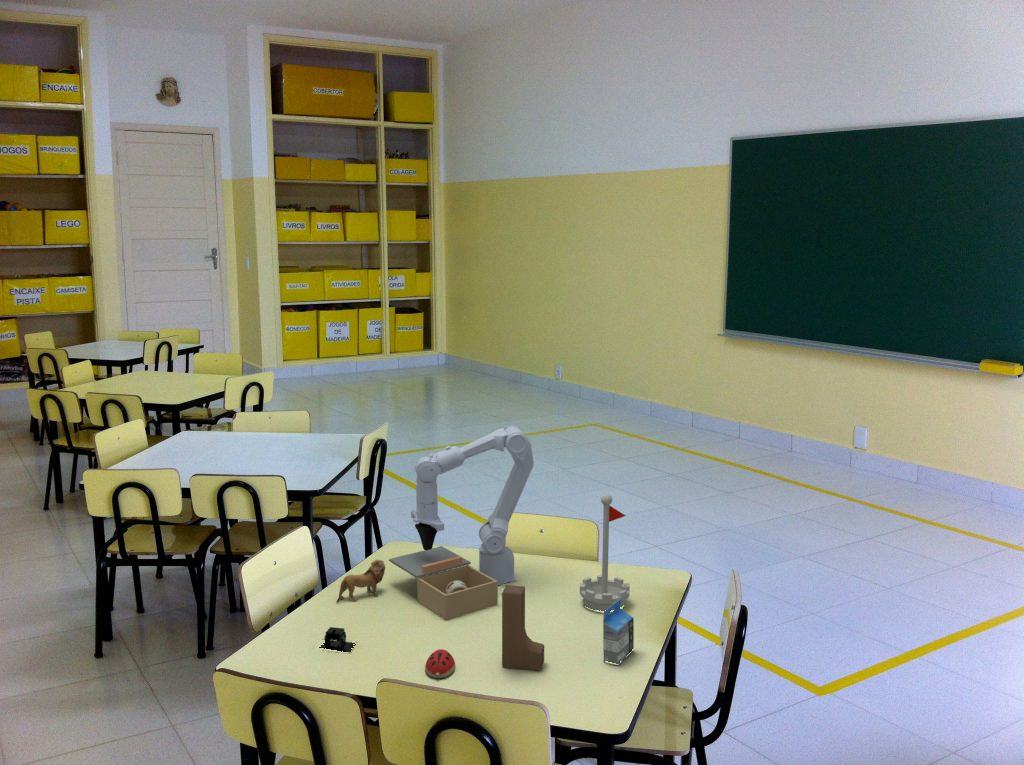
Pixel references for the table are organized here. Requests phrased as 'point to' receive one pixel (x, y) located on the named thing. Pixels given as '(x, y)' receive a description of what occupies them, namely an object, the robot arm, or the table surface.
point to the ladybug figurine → (440, 664)
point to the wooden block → (518, 633)
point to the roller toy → (455, 587)
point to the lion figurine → (363, 580)
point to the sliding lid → (429, 561)
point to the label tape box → (617, 634)
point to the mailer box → (460, 602)
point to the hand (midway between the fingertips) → (427, 549)
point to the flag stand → (605, 571)
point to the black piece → (341, 642)
